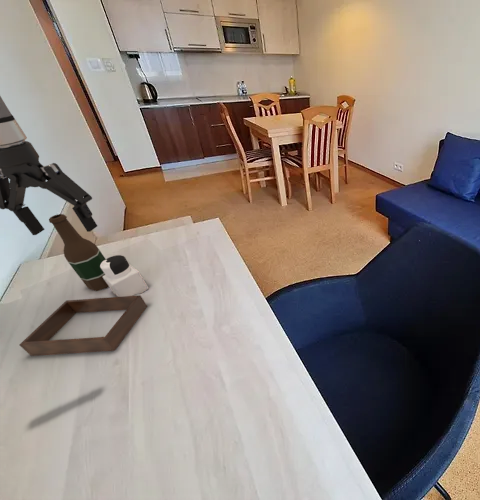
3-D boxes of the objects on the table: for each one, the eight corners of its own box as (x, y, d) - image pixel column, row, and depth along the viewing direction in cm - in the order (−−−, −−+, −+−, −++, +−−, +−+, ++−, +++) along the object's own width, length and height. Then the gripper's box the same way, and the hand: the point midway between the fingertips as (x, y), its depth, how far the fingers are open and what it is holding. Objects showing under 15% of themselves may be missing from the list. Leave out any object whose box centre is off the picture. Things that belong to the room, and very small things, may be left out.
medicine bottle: (139, 281, 95) (119, 249, 88) (149, 289, 91) (130, 257, 84) (114, 294, 90) (92, 262, 83) (124, 303, 87) (102, 270, 80)
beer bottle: (86, 284, 95) (35, 218, 81) (114, 272, 100) (70, 207, 86) (92, 295, 91) (39, 226, 77) (121, 282, 95) (76, 214, 81)
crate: (33, 358, 73) (18, 344, 70) (76, 313, 85) (66, 300, 82) (116, 352, 72) (105, 339, 69) (148, 308, 84) (140, 295, 81)
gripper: (77, 135, 67) (123, 220, 79) (-35, 143, 67) (29, 226, 79) (50, 145, 60) (105, 235, 73) (-73, 153, 61) (3, 241, 73)
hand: (65, 230), depth 76 cm, fingers open, 13 cm apart
